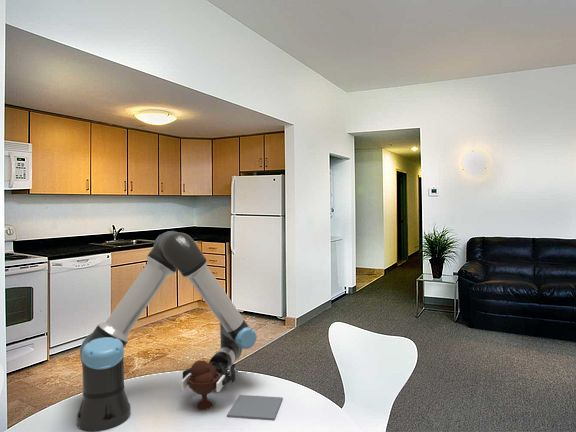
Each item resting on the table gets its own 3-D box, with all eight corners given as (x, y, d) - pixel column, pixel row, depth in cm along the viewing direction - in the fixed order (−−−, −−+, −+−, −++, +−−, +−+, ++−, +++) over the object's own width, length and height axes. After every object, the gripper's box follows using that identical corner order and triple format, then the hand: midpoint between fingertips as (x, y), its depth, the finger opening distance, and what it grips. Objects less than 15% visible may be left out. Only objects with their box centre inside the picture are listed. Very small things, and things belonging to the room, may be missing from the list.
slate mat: (226, 416, 124) (226, 414, 124) (239, 396, 138) (239, 394, 138) (274, 420, 122) (274, 418, 122) (282, 399, 136) (282, 397, 136)
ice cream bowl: (214, 415, 126) (213, 367, 126) (181, 412, 128) (180, 365, 128) (226, 399, 136) (225, 355, 136) (195, 397, 138) (195, 353, 138)
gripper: (253, 373, 148) (235, 400, 126) (192, 369, 152) (165, 396, 130) (252, 352, 148) (235, 376, 126) (192, 350, 152) (165, 372, 130)
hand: (199, 386), depth 128 cm, fingers closed on ice cream bowl, 11 cm apart
